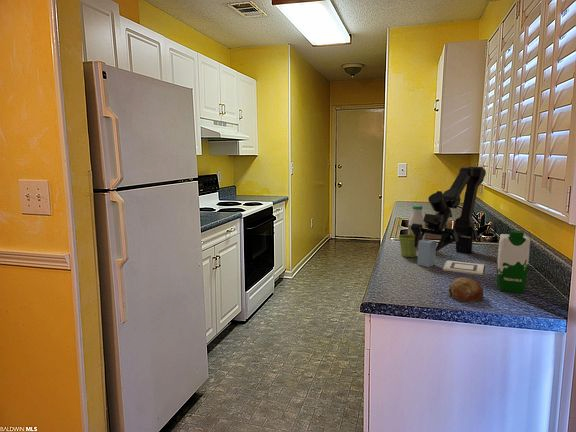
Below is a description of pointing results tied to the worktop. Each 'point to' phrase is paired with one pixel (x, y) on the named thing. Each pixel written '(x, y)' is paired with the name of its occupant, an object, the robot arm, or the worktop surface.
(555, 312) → the worktop surface
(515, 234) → the milk carton
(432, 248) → the blue block
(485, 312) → the worktop surface
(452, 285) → the bread roll
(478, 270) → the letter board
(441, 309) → the worktop surface
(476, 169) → the robot arm
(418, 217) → the milk bottle
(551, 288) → the worktop surface
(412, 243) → the plant pot
